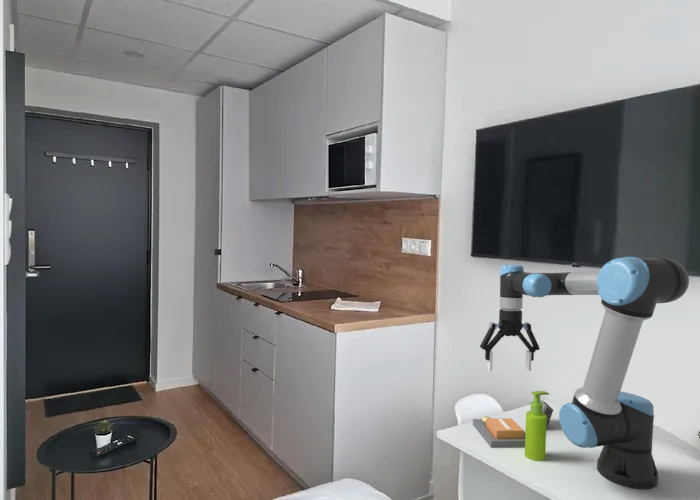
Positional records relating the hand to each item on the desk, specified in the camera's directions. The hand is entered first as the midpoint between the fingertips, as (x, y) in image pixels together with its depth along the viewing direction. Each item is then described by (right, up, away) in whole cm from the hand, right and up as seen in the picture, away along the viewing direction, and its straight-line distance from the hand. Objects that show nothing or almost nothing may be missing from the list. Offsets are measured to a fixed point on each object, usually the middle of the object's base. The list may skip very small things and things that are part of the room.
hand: (509, 369), depth 166 cm
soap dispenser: (+2, -22, -19) cm, 29 cm away
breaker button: (-4, -20, -7) cm, 21 cm away
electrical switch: (+12, -21, +4) cm, 25 cm away
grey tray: (-4, -21, -5) cm, 22 cm away
